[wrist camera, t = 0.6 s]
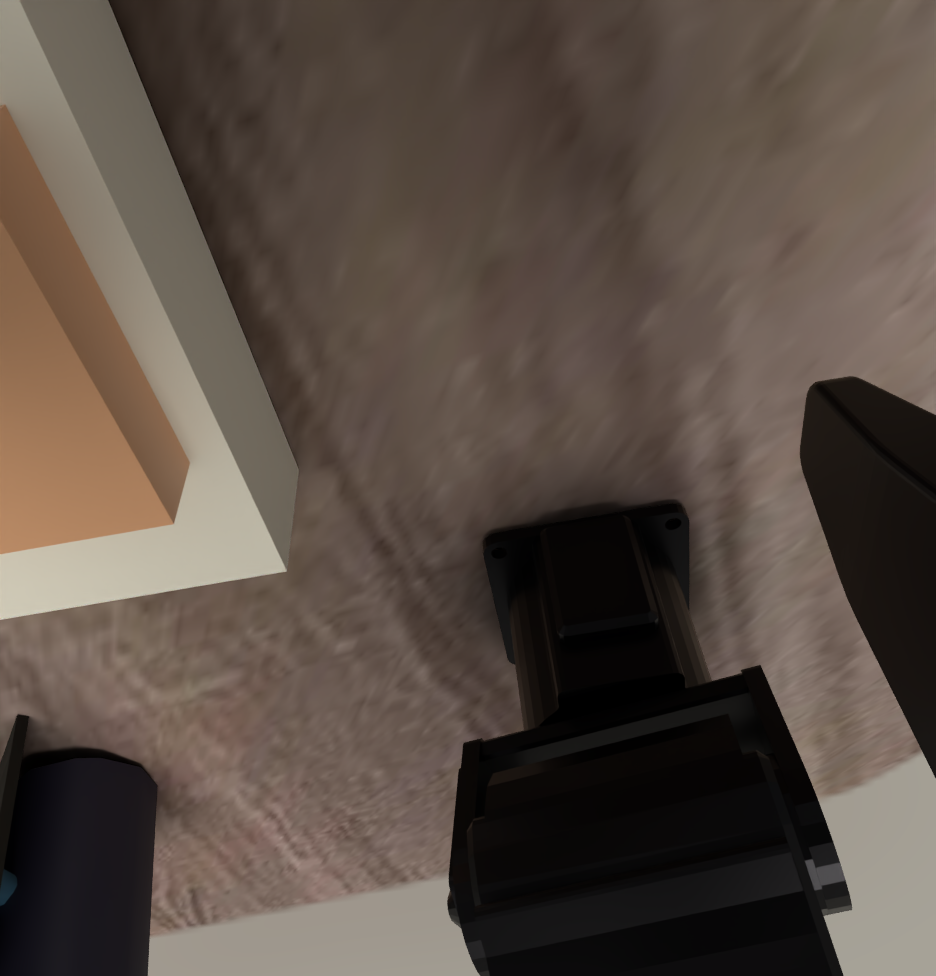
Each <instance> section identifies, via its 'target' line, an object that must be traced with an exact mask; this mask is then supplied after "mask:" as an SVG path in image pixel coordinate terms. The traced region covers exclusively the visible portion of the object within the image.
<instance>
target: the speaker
mask: <svg viewBox="0 0 936 976" xmlns="http://www.w3.org/2000/svg"><path fill="white" fill-rule="evenodd" d="M28 719H29V717H26V716H17V718H16V720H15V723H14V726H13V729H12V732H11V735H10V738H9V740H8V743H7V746H6V749H5V752H4V755H3V758H2V760H1V763H0V976H148V957H149V956H148V955H149V937H150V918H151V898H152V878H153V859H154V839H155V820H156V800H157V785H156V784H155V783H154V782H153V780H152V779H151V778H150V777H149V776H148V775H147V774H146V772H145V771H144V770H143V769H142V768H141V767H138V766H133V765H129V764H125V763H120V762H116V761H112V760H108V759H103V758H75V759H71V760H67V761H63V762H59V763H55V764H51V765H47V766H43V767H39V768H35V769H31V770H29V771H28V772H27V773H26V774H24V775H23V776H22V777H21V778H20V779H19V773H20V767H21V761H22V755H23V749H24V743H25V737H26V731H27V725H28ZM18 779H19V780H18Z"/></svg>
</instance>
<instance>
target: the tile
mask: <svg viewBox="0 0 936 976" xmlns="http://www.w3.org/2000/svg"><path fill="white" fill-rule="evenodd" d="M189 465H190V461H189V460H188V458H187V456H186V454H185V452H184V450H183V448H182V446H181V444H180V442H179V440H178V438H177V436H176V434H175V432H174V430H173V429H172V427H171V425H170V423H169V421H168V419H167V417H166V415H165V413H164V411H163V409H162V407H161V405H160V403H159V401H158V400H157V398H156V396H155V394H154V392H153V390H152V388H151V386H150V384H149V382H148V380H147V378H146V376H145V374H144V372H143V370H142V369H141V367H140V365H139V363H138V361H137V359H136V357H135V355H134V353H133V351H132V349H131V347H130V345H129V343H128V341H127V339H126V338H125V336H124V334H123V332H122V330H121V328H120V326H119V324H118V322H117V320H116V318H115V316H114V314H113V312H112V310H111V308H110V307H109V305H108V303H107V301H106V299H105V297H104V295H103V293H102V291H101V289H100V287H99V285H98V283H97V281H96V279H95V278H94V276H93V274H92V272H91V270H90V268H89V266H88V264H87V262H86V260H85V258H84V256H83V254H82V252H81V250H80V248H79V247H78V245H77V243H76V241H75V239H74V237H73V235H72V233H71V231H70V229H69V227H68V225H67V223H66V221H65V219H64V217H63V216H62V214H61V212H60V210H59V208H58V206H57V204H56V202H55V200H54V198H53V196H52V194H51V192H50V190H49V188H48V187H47V185H46V183H45V181H44V179H43V177H42V175H41V173H40V171H39V169H38V167H37V165H36V163H35V161H34V159H33V157H32V156H31V154H30V152H29V150H28V148H27V146H26V144H25V142H24V140H23V138H22V136H21V134H20V132H19V130H18V128H17V126H16V125H15V123H14V121H13V119H12V117H11V115H10V113H9V111H8V109H7V107H6V105H1V106H0V554H5V553H11V552H17V551H22V550H28V549H34V548H40V547H45V546H51V545H57V544H63V543H68V542H74V541H80V540H86V539H91V538H97V537H103V536H109V535H114V534H120V533H126V532H132V531H137V530H143V529H149V528H155V527H160V526H166V525H172V524H174V522H175V518H176V514H177V511H178V507H179V503H180V499H181V495H182V492H183V488H184V484H185V480H186V476H187V473H188V469H189Z"/></svg>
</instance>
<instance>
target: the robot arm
mask: <svg viewBox="0 0 936 976" xmlns="http://www.w3.org/2000/svg"><path fill="white" fill-rule="evenodd" d="M800 459H801V466H802V470H803V474H804V476H805V479H806V482H807V485H808V488H809V491H810V494H811V497H812V500H813V502H814V505H815V508H816V511H817V514H818V517H819V520H820V523H821V526H822V528H823V531H824V534H825V537H826V540H827V543H828V546H829V549H830V552H831V554H832V557H833V560H834V563H835V566H836V569H837V572H838V575H839V578H840V580H841V583H842V585H843V588H844V591H845V593H846V596H847V599H848V601H849V603H850V605H851V607H852V610H853V612H854V614H855V616H856V618H857V620H858V622H859V624H860V626H861V628H862V630H863V633H864V635H865V637H866V639H867V641H868V643H869V645H870V647H871V649H872V651H873V653H874V655H875V657H876V659H877V661H878V663H879V665H880V667H881V669H882V671H883V673H884V675H885V677H886V679H887V681H888V683H889V685H890V687H891V689H892V691H893V693H894V695H895V697H896V699H897V701H898V703H899V705H900V707H901V709H902V711H903V713H904V715H905V717H906V719H907V721H908V723H909V725H910V727H911V729H912V731H913V733H914V735H915V737H916V739H917V741H918V743H919V745H920V748H921V750H922V752H923V754H924V756H925V758H926V760H927V762H928V764H929V766H930V768H931V769H932V772H933V774H934V776H935V778H936V415H934V414H932V413H930V412H928V411H926V410H924V409H922V408H920V407H918V406H916V405H914V404H912V403H910V402H908V401H906V400H903V399H901V398H899V397H897V396H895V395H893V394H891V393H889V392H887V391H885V390H883V389H881V388H879V387H877V386H875V385H873V384H871V383H868V382H866V381H864V380H862V379H860V378H857V377H853V376H849V377H843V378H836V379H830V380H824V381H818V382H815V383H814V384H813V385H812V386H811V387H810V388H809V391H808V393H807V397H806V404H805V412H804V420H803V428H802V437H801V445H800ZM672 518H675V519H674V520H671V521H668V520H669V519H672ZM496 548H502V549H500V550H495V549H496ZM483 554H484V559H485V564H486V568H487V572H488V576H489V581H490V585H491V589H492V593H493V598H494V602H495V606H496V611H497V615H498V619H499V623H500V628H501V632H502V636H503V640H504V645H505V649H506V653H507V658H508V660H509V662H511V663H512V664H515V665H516V672H517V680H518V688H519V695H520V703H521V710H522V718H523V726H524V731H520V732H516V733H512V734H508V735H504V736H501V737H497V738H493V739H489V740H485V741H483V739H482V738H481V739H477V740H473V741H469V742H465V743H464V744H463V753H462V763H461V768H460V769H459V773H458V784H457V794H456V805H455V816H454V826H453V837H452V848H451V858H450V869H449V887H450V893H449V896H448V901H447V902H448V903H447V904H448V911H449V915H450V918H451V920H452V921H453V922H454V923H455V924H456V925H458V926H459V927H460V928H461V929H462V933H463V936H464V940H465V943H466V946H467V949H468V952H469V954H470V957H471V959H472V962H473V964H474V966H475V968H476V970H477V972H478V973H479V974H480V976H843V973H842V970H841V967H840V964H839V961H838V958H837V955H836V952H835V949H834V946H833V943H832V940H831V937H830V934H829V931H828V928H827V926H826V922H825V920H824V917H823V916H825V915H829V914H833V913H839V912H844V911H849V910H852V904H851V899H850V895H849V891H848V888H847V884H846V880H845V877H844V874H843V871H842V867H841V864H840V861H839V858H838V855H837V852H836V849H835V846H834V843H833V840H832V837H831V834H830V832H829V829H828V826H827V823H826V820H825V818H824V815H823V812H822V810H821V807H820V804H819V801H818V799H817V796H816V794H815V791H814V789H813V786H812V783H811V781H810V779H809V776H808V774H807V771H806V769H805V767H804V764H803V762H802V760H801V757H800V755H799V753H798V750H797V748H796V746H795V744H794V741H793V739H792V737H791V734H790V732H789V730H788V727H787V725H786V723H785V720H784V718H783V716H782V714H781V711H780V709H779V707H778V704H777V702H776V700H775V697H774V695H773V693H772V691H771V688H770V686H769V684H768V681H767V679H766V677H765V674H764V672H763V670H762V668H761V665H758V666H755V667H751V668H747V669H743V670H741V672H742V673H741V674H737V675H733V676H730V677H726V678H722V679H718V680H714V681H712V680H711V677H710V674H709V671H708V668H707V665H706V662H705V659H704V656H703V653H702V650H701V647H700V644H699V641H698V638H697V635H696V632H695V629H694V626H693V623H692V619H691V616H690V613H689V519H688V516H687V513H686V510H685V508H684V507H683V506H681V505H679V504H666V505H660V506H654V507H648V508H643V509H637V510H631V511H625V512H619V513H613V514H607V515H601V516H595V517H589V518H583V519H577V520H572V521H566V522H560V523H554V524H548V525H542V526H536V527H530V528H524V529H518V530H512V531H506V532H501V533H495V534H492V535H489V536H488V537H487V538H485V540H484V541H483Z"/></svg>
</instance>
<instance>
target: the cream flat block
mask: <svg viewBox="0 0 936 976" xmlns="http://www.w3.org/2000/svg"><path fill="white" fill-rule="evenodd" d="M1 105H6V107H7V109H8V111H9V113H10V115H11V117H12V119H13V121H14V123H15V125H16V126H17V128H18V130H19V132H20V134H21V136H22V138H23V140H24V142H25V144H26V146H27V148H28V150H29V152H30V154H31V156H32V157H33V159H34V161H35V163H36V165H37V167H38V169H39V171H40V173H41V175H42V177H43V179H44V181H45V183H46V185H47V187H48V188H49V190H50V192H51V194H52V196H53V198H54V200H55V202H56V204H57V206H58V208H59V210H60V212H61V214H62V216H63V217H64V219H65V221H66V223H67V225H68V227H69V229H70V231H71V233H72V235H73V237H74V239H75V241H76V243H77V245H78V247H79V248H80V250H81V252H82V254H83V256H84V258H85V260H86V262H87V264H88V266H89V268H90V270H91V272H92V274H93V276H94V278H95V279H96V281H97V283H98V285H99V287H100V289H101V291H102V293H103V295H104V297H105V299H106V301H107V303H108V305H109V307H110V308H111V310H112V312H113V314H114V316H115V318H116V320H117V322H118V324H119V326H120V328H121V330H122V332H123V334H124V336H125V338H126V339H127V341H128V343H129V345H130V347H131V349H132V351H133V353H134V355H135V357H136V359H137V361H138V363H139V365H140V367H141V369H142V370H143V372H144V374H145V376H146V378H147V380H148V382H149V384H150V386H151V388H152V390H153V392H154V394H155V396H156V398H157V400H158V401H159V403H160V405H161V407H162V409H163V411H164V413H165V415H166V417H167V419H168V421H169V423H170V425H171V427H172V429H173V430H174V432H175V434H176V436H177V438H178V440H179V442H180V444H181V446H182V448H183V450H184V452H185V454H186V456H187V458H188V460H189V461H190V465H189V469H188V473H187V476H186V480H185V484H184V488H183V492H182V495H181V499H180V503H179V507H178V511H177V514H176V518H175V522H174V524H172V525H166V526H160V527H155V528H149V529H143V530H137V531H132V532H126V533H120V534H114V535H109V536H103V537H97V538H91V539H86V540H80V541H74V542H68V543H63V544H57V545H51V546H45V547H40V548H34V549H28V550H22V551H17V552H11V553H5V554H0V620H2V619H7V618H13V617H19V616H25V615H31V614H37V613H43V612H49V611H55V610H61V609H67V608H73V607H79V606H84V605H90V604H96V603H102V602H108V601H114V600H120V599H126V598H132V597H138V596H144V595H150V594H156V593H161V592H167V591H173V590H179V589H185V588H191V587H197V586H203V585H209V584H215V583H221V582H227V581H233V580H238V579H244V578H250V577H256V576H262V575H268V574H274V573H280V572H286V571H287V567H288V559H289V550H290V542H291V533H292V525H293V517H294V508H295V500H296V491H297V483H298V475H299V469H298V466H297V464H296V461H295V459H294V456H293V454H292V451H291V449H290V446H289V444H288V442H287V439H286V437H285V434H284V432H283V429H282V427H281V424H280V422H279V419H278V417H277V414H276V412H275V410H274V407H273V405H272V402H271V400H270V397H269V395H268V392H267V390H266V387H265V385H264V383H263V380H262V378H261V375H260V373H259V370H258V368H257V365H256V363H255V360H254V358H253V355H252V353H251V351H250V348H249V346H248V343H247V341H246V338H245V336H244V333H243V331H242V328H241V326H240V323H239V321H238V319H237V316H236V314H235V311H234V309H233V306H232V304H231V301H230V299H229V296H228V294H227V291H226V289H225V287H224V284H223V282H222V279H221V277H220V274H219V272H218V269H217V267H216V264H215V262H214V259H213V257H212V255H211V252H210V250H209V247H208V245H207V242H206V240H205V237H204V235H203V232H202V230H201V227H200V225H199V223H198V220H197V218H196V215H195V213H194V210H193V208H192V205H191V203H190V200H189V198H188V195H187V193H186V191H185V188H184V186H183V183H182V181H181V178H180V176H179V173H178V171H177V168H176V166H175V163H174V161H173V159H172V156H171V154H170V151H169V149H168V146H167V144H166V141H165V139H164V136H163V134H162V131H161V129H160V127H159V124H158V122H157V119H156V117H155V114H154V112H153V109H152V107H151V104H150V102H149V100H148V97H147V95H146V92H145V90H144V87H143V85H142V82H141V80H140V77H139V75H138V72H137V70H136V68H135V65H134V63H133V60H132V58H131V55H130V53H129V50H128V48H127V45H126V43H125V40H124V38H123V36H122V33H121V31H120V28H119V26H118V23H117V21H116V18H115V16H114V13H113V11H112V8H111V6H110V4H109V1H108V0H0V106H1Z"/></svg>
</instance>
